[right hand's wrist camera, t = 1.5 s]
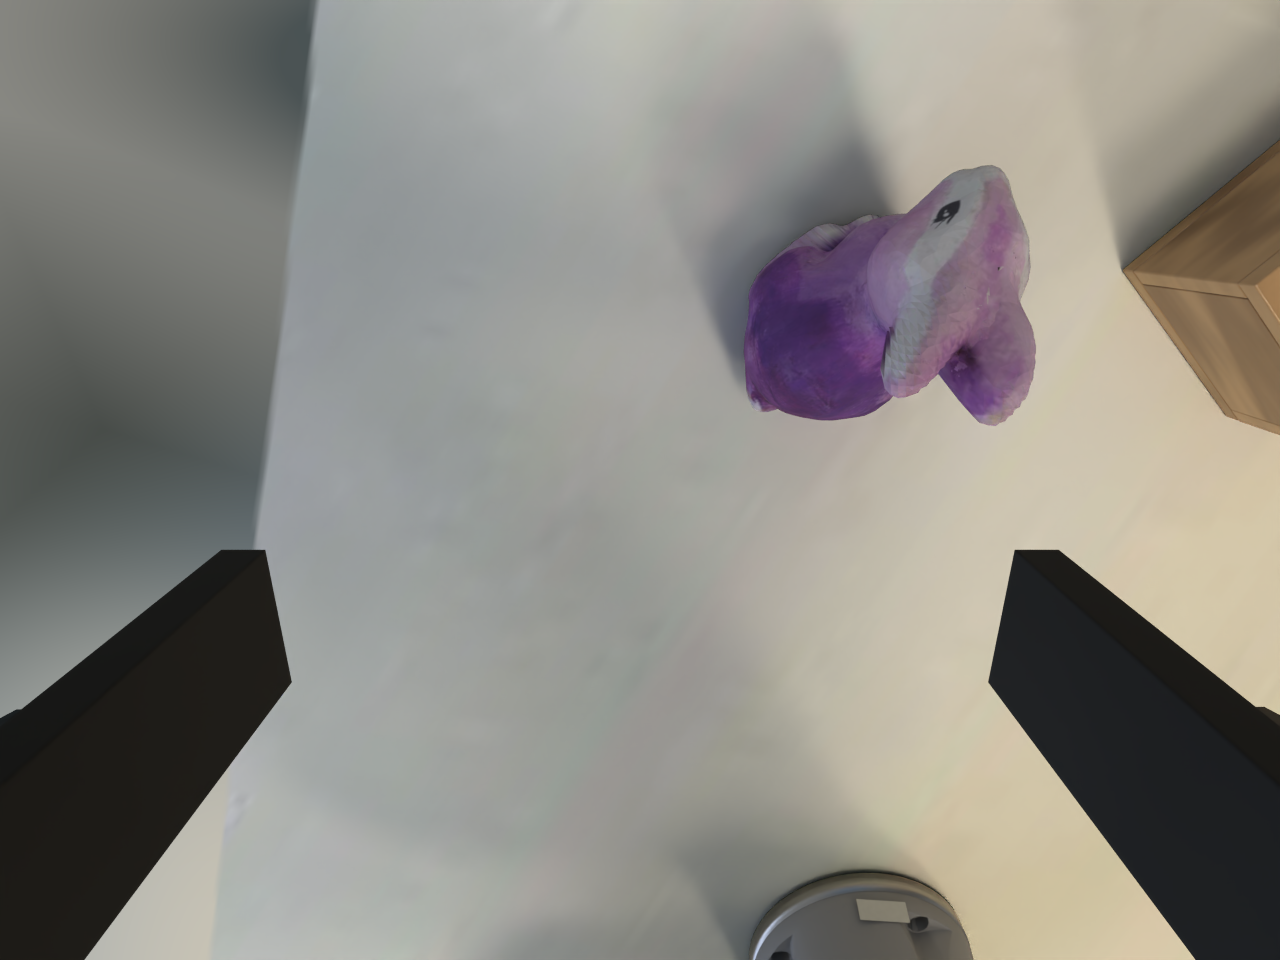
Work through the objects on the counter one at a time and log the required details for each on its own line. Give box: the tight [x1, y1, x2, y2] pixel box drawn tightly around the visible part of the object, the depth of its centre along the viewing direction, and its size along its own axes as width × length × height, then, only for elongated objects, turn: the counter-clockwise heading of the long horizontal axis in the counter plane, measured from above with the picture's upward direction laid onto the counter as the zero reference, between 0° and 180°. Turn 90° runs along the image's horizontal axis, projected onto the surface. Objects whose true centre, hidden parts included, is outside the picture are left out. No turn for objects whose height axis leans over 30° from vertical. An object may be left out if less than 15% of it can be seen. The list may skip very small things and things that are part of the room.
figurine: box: [744, 165, 1036, 426], centre depth 28 cm, size 9×10×15 cm
